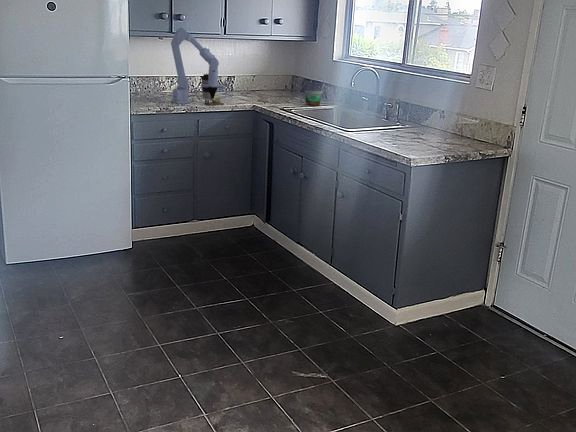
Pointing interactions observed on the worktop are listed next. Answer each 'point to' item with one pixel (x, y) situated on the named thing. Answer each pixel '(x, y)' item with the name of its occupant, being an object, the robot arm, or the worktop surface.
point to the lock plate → (212, 103)
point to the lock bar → (215, 99)
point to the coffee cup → (205, 89)
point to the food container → (313, 97)
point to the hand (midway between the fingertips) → (212, 99)
